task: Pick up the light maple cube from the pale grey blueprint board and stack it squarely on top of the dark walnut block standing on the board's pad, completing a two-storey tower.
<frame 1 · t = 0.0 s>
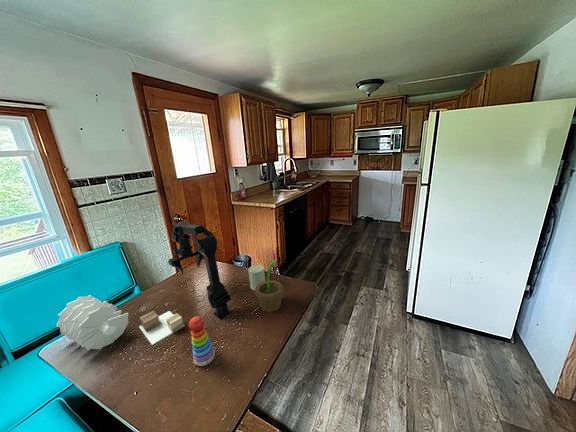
hand: (190, 270, 128), 15 cm above the table, fingers open, 9 cm apart
flowerpot: (270, 305, 118), on the table
can: (258, 286, 136), on the table
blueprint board: (161, 326, 108), on the table
spiral staircase: (99, 338, 104), on the table
maple cube: (176, 327, 106), resting on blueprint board
walnut block: (151, 325, 108), resting on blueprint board
stacking toy: (204, 358, 89), on the table
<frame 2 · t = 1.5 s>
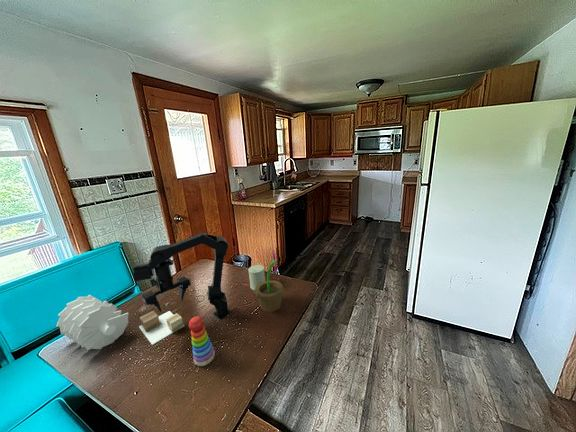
hand: (171, 306, 103), 12 cm above the table, fingers open, 9 cm apart
nothing on the table moved.
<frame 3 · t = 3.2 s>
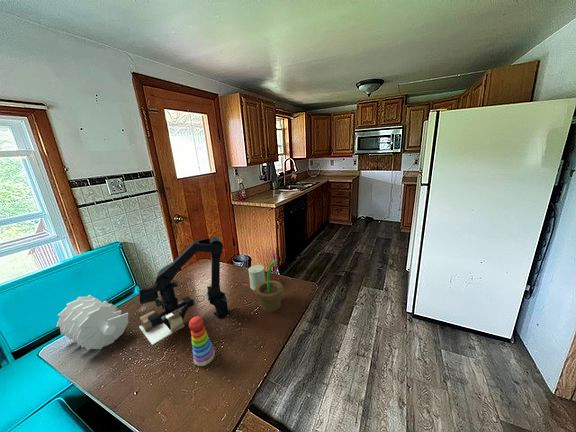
hand: (175, 325, 106), 1 cm above the table, fingers closed on maple cube, 5 cm apart
maple cube: (176, 327, 106), resting on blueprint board, touching gripper
everything else where it was.
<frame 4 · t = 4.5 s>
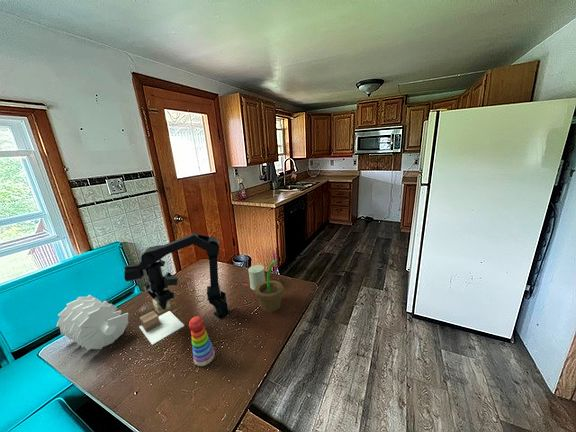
hand: (162, 306, 104), 11 cm above the table, fingers closed on maple cube, 5 cm apart
maple cube: (162, 308, 104), point 11 cm above the table, touching gripper
everything else where it was.
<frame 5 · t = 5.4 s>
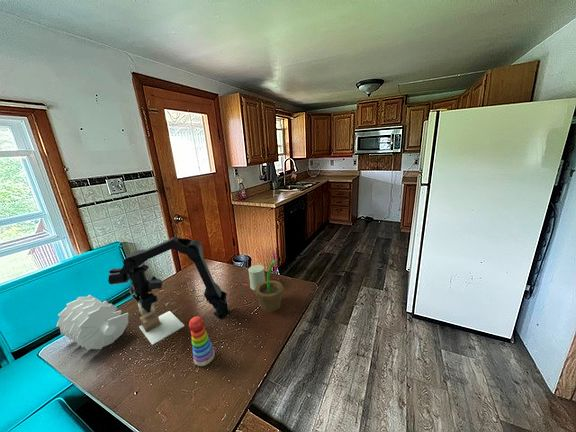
hand: (147, 309, 106), 9 cm above the table, fingers closed on maple cube, 5 cm apart
maple cube: (147, 311, 106), point 8 cm above the table, touching gripper
everything else where it was.
when the fingers open (7 cm above the table, at t = 6.1 s): maple cube stays where it is, resting on walnut block.
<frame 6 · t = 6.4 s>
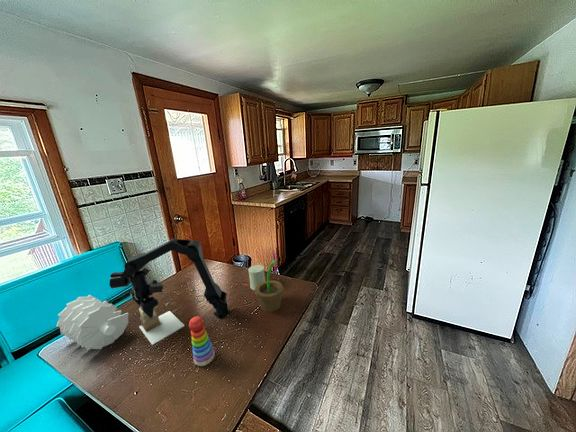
hand: (148, 313, 106), 7 cm above the table, fingers open, 9 cm apart
maple cube: (148, 316, 107), point 5 cm above the table, touching walnut block
walnut block: (151, 325, 108), resting on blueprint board, touching maple cube
everything else where it was.
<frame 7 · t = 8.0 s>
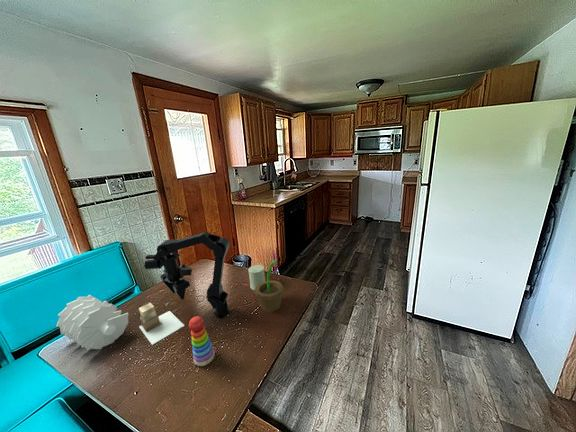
hand: (178, 296, 111), 11 cm above the table, fingers open, 9 cm apart
nothing on the table moved.
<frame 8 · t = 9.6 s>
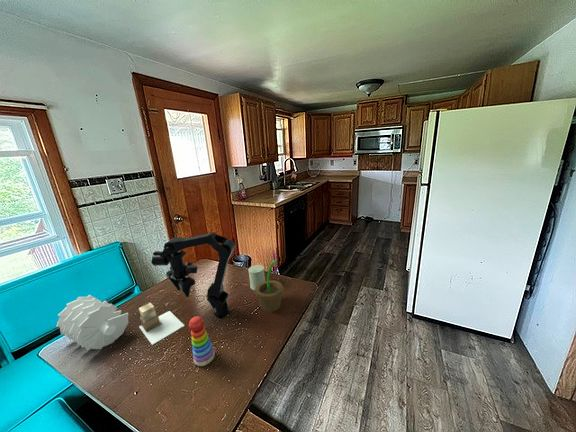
hand: (183, 293, 112), 12 cm above the table, fingers open, 9 cm apart
nothing on the table moved.
at the end: maple cube 0.0 cm off-centre on the walnut block, point 5.0 cm above the walnut block's base; maple cube tilted 0°; the gripper is holding nothing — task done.
